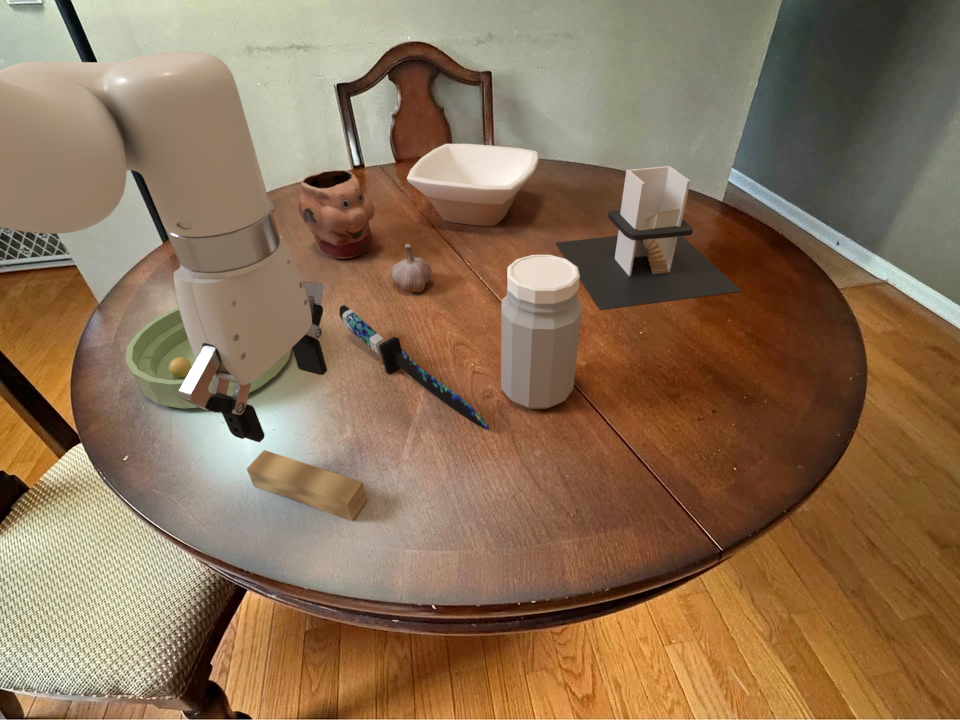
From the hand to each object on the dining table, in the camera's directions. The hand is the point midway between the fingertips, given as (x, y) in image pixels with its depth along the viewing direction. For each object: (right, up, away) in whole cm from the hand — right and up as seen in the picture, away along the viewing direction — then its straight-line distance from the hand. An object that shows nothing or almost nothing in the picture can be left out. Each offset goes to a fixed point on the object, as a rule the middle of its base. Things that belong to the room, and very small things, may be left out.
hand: (283, 401), depth 53 cm
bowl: (+18, +36, +66) cm, 78 cm away
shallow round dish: (-19, +4, +27) cm, 33 cm away
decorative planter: (-8, +26, +55) cm, 62 cm away
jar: (+26, 0, +21) cm, 34 cm away
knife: (+9, +1, +24) cm, 25 cm away
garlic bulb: (+7, +17, +43) cm, 47 cm away
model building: (+48, +21, +47) cm, 71 cm away
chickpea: (-22, +2, +24) cm, 33 cm away
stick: (0, -11, +9) cm, 14 cm away
